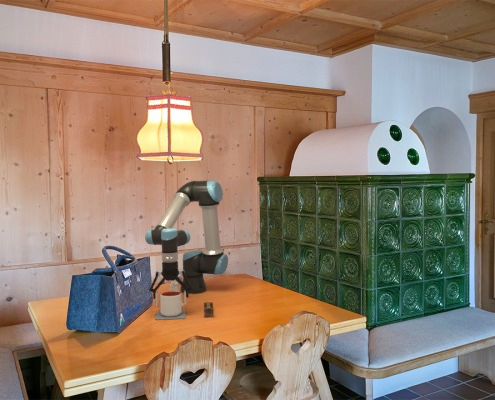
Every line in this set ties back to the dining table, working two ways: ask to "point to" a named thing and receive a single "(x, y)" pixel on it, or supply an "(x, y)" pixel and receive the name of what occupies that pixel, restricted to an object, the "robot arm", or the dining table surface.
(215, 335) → the dining table surface
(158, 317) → the pad
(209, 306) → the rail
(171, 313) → the cup
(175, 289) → the figurine
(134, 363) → the dining table surface
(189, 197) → the robot arm
